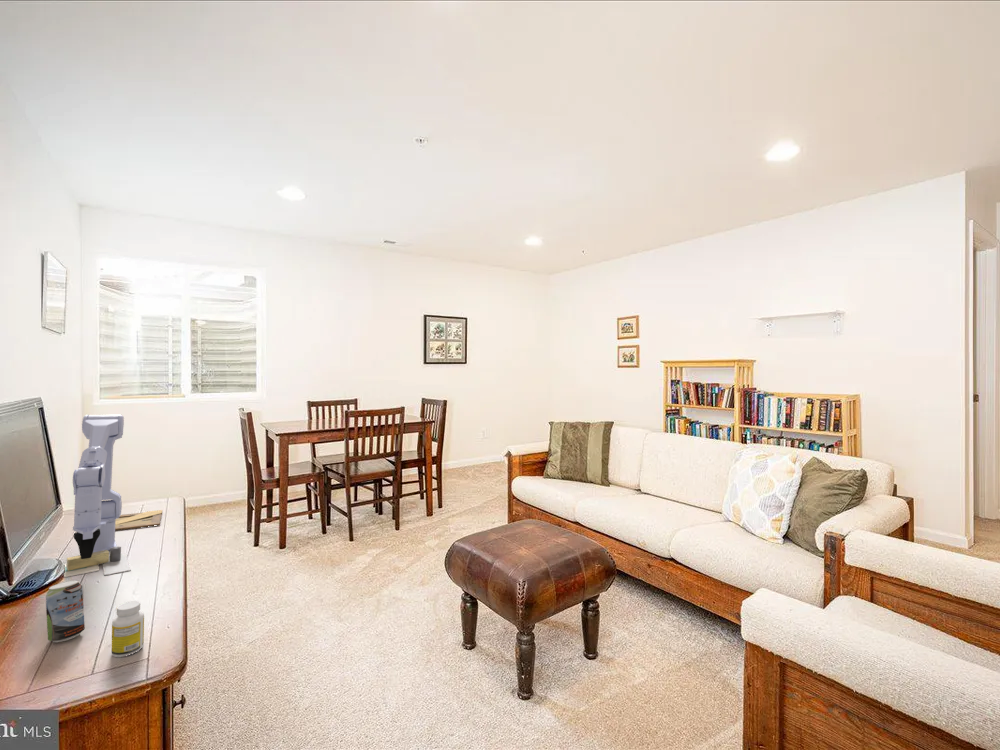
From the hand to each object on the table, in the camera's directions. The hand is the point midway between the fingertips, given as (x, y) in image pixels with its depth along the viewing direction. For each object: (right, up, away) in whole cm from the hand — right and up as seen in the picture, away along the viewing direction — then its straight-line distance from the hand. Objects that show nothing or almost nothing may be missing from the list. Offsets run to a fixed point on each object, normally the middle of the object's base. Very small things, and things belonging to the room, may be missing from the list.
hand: (86, 557), depth 134 cm
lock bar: (-6, -5, +7) cm, 10 cm away
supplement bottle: (+37, -7, -33) cm, 50 cm away
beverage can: (+20, -7, -29) cm, 36 cm away
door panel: (-3, -5, +7) cm, 9 cm away
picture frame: (-26, -5, +46) cm, 53 cm away
